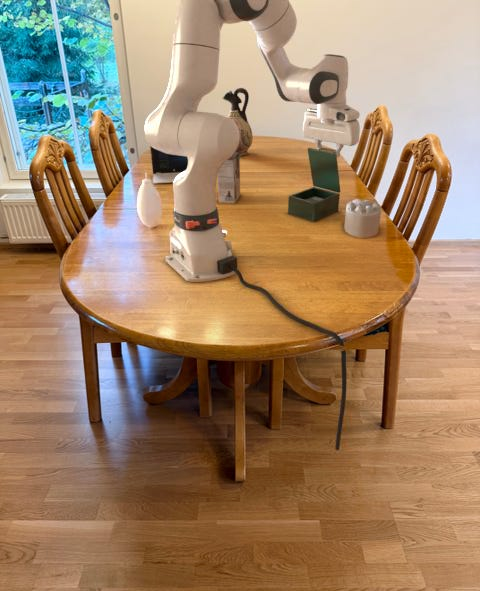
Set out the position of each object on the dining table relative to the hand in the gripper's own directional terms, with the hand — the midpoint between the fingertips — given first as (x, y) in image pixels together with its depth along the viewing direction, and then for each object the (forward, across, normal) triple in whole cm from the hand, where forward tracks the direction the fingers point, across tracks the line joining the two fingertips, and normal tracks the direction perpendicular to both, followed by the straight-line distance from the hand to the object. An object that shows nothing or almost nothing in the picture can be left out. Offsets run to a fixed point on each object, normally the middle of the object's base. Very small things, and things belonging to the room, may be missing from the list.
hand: (328, 155), depth 161 cm
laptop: (+18, -66, -15) cm, 70 cm away
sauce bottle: (+18, -30, -52) cm, 63 cm away
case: (+18, 0, -6) cm, 19 cm away
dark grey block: (+17, 0, -7) cm, 19 cm away
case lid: (+5, 0, -2) cm, 5 cm away
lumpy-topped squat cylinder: (+18, +20, -8) cm, 28 cm away
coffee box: (+18, -31, -16) cm, 40 cm away
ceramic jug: (+19, -75, +32) cm, 84 cm away
